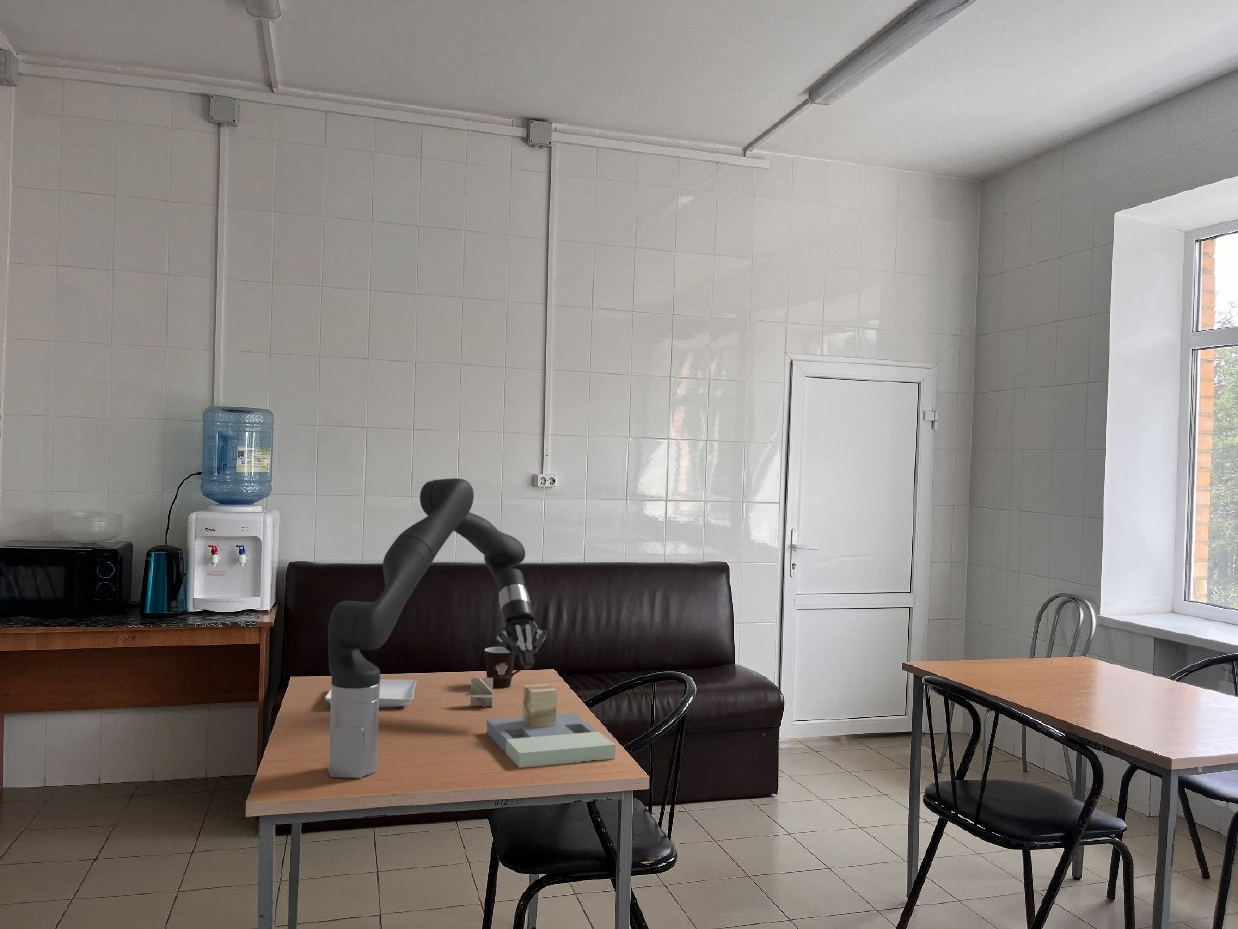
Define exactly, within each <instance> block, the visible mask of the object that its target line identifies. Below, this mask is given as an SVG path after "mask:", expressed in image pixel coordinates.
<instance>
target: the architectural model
mask: <svg viewBox="0 0 1238 929" xmlns="http://www.w3.org/2000/svg"><path fill="white" fill-rule="evenodd" d="M470 680H471V681H470V692H467V691H466V692H465V694H464V698H470V705H469V706H471V707H479V706H480V707H483V708H486V707H491V708H493V707H494V691H493V690H494V688H493V678H487V677H471V679H470Z"/></svg>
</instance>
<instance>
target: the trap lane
mask: <svg viewBox="0 0 1238 929" xmlns="http://www.w3.org/2000/svg"><path fill="white" fill-rule="evenodd" d="M522 720H523V716H518V717H517V716H516V717H504V718H491V719H486V734H487V735H488V736H489V737H490V738H491V740H493V742H495V743H496V745H498V746H499V748H500V749H501V750H502V751H503V752H504V753H505V754H506V755H507V757H508V758H509V759H511V762H512V761H513V763H514V764H515V765H516V766H517V767H518V768H519V769H523V768H524V769H525V768H531V767H542V766H543V767H544V766H553V765H555V766H556V765H565V764H574V763H575V762H576V763H583V762H582V761H586V762H591V761H590V760H597V761H604V760H606V759H607V760H615V759H616V744H615V743H614V742H613V741H612V740H610V739H609V738H607V737H606V736H605V735H603V734H602V733H601V732H599V730H596V728H594V727H593V726H591V725H590V724H589V723H587V722H586V721H585V720H584V719H582V718H581V717H579V715H577V714H576V713H574V712H573V713H572V712H570V713H569V712H568V713H560V714H559V713H556V726H545V727H533V728H530V727H529V726H528V725H527V724H526V723H525V722H523V721H522Z"/></svg>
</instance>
